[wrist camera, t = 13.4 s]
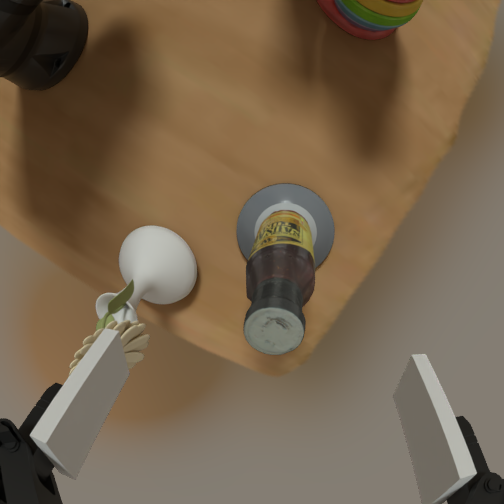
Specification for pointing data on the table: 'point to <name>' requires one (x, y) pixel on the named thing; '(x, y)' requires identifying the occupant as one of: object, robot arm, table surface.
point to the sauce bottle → (279, 283)
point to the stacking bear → (370, 15)
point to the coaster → (287, 199)
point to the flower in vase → (143, 287)
